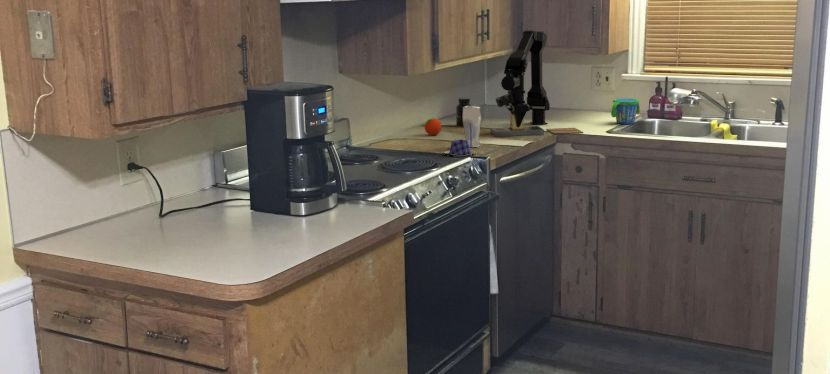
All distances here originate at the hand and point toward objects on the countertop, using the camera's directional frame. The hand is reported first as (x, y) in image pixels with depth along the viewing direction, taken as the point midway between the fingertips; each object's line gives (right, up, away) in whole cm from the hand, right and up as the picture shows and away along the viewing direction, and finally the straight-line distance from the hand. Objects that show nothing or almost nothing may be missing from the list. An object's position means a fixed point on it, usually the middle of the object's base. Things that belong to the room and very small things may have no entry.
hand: (516, 126), depth 370 cm
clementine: (-34, -4, +2) cm, 35 cm away
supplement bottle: (-20, +2, +24) cm, 31 cm away
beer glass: (-20, -10, -26) cm, 34 cm away
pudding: (-25, -13, -41) cm, 49 cm away
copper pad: (+20, -2, +3) cm, 20 cm away
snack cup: (+49, +2, +21) cm, 53 cm away
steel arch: (0, -3, +1) cm, 3 cm away
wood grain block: (0, -3, +1) cm, 3 cm away
